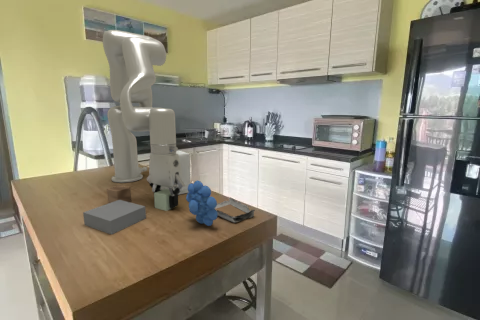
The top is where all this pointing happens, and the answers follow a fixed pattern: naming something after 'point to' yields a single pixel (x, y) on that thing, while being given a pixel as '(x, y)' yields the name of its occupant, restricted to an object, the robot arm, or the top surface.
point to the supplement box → (183, 171)
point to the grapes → (201, 203)
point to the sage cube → (162, 199)
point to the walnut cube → (119, 194)
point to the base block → (114, 216)
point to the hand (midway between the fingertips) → (166, 204)
